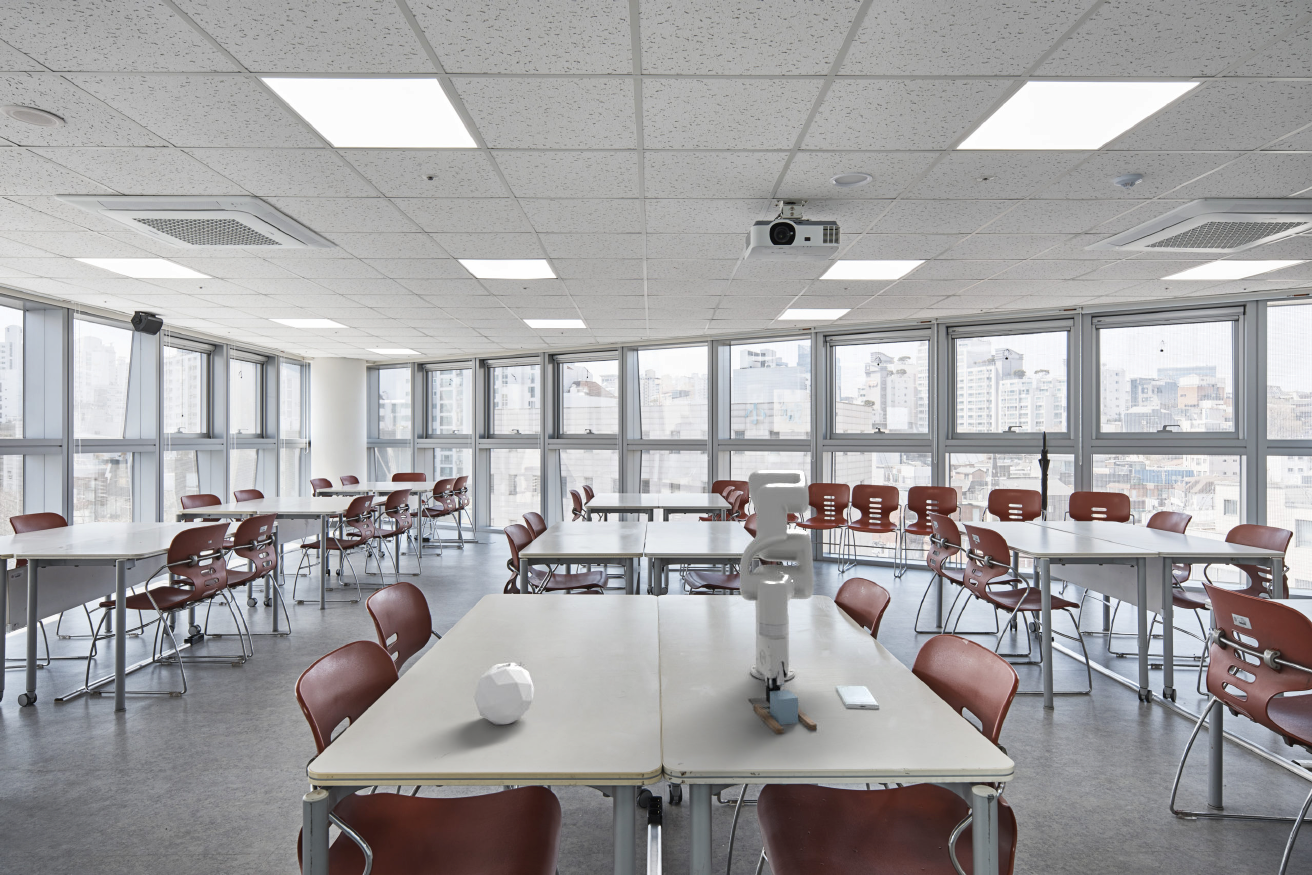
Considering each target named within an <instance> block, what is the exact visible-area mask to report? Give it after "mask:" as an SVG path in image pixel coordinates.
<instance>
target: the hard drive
mask: <svg viewBox="0 0 1312 875" xmlns="http://www.w3.org/2000/svg"><path fill="white" fill-rule="evenodd" d="M835 690H836V692H837V694H838V696H839V698H840V699H841V701H842V702H843V704H844V706H845V708H846V709H865V710H866V709H869V710H870V709H871V710H874V709H875V710H879V709H880V705H879V703H878V701H876V699H875V698H874V696H873V695H872V693H871V691H870V690H869V688H868V687H867V686H864V685H836V686H835Z"/></svg>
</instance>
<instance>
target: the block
mask: <svg viewBox="0 0 1312 875" xmlns="http://www.w3.org/2000/svg"><path fill="white" fill-rule="evenodd" d="M798 708H799V697H798V696H797V695H795V693H793V692H792V691H791V690H789V689H783V690H781V689H780V691H771V692H770V708H769V715H770V716H771V717H772V718H773V719H774V720H775V721H776V722H777V723H778V724H779V725H780V726H782V725H788V724H789V725H790V724H797V723H799V719H798Z"/></svg>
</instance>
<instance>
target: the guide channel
mask: <svg viewBox="0 0 1312 875" xmlns="http://www.w3.org/2000/svg"><path fill="white" fill-rule="evenodd" d="M747 701H748V702H750V703H751V704H752V705H753V710H754V712H756V714H757V715H758V716H759V717H760V718H761V719H762V720H763V721H764V722H765V723H766V724H767V725H768V726H769V727H770V728H771V729H772V730H773V732H774V733H776V735H782V734H784V728H783V726H782V725H779V724H778V723H777V722H776V721H775V720H774V719H773V718H772V717H771V716H770V713H769V712H767V710H766V709H770V704H769V703H768V702H767V701H766V696H761V697H751V698H748V700H747ZM799 720H800V722H802V724H804V726H805V727H807V728H808V729H809V730H810V731H816V730H817V729H818V728H817V726H818V725H817V723H816V722H815V721H814V720H813V719H811V718H810V717H809V716H808V715H807V714H806V713H805V712H804V711H802V710H801V709H800V708H799V707H798V721H799Z"/></svg>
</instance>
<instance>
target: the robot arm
mask: <svg viewBox="0 0 1312 875" xmlns="http://www.w3.org/2000/svg"><path fill="white" fill-rule="evenodd" d="M747 483H748V490H749V495H750V500H751V502H752V504H753V507H754V509H755V512H756V525H755V526H756V533H755V534H756V535H755V537H754V538H753V539H752V540H751V541H750V542H749V543H748V545H747V546H746V547H745V550H743V553H742V555H741V559H740V564H739V593H740V595H741V597H742V598H743V599H744V600H746V601H749V602H754V604H755V608H754V609H755V664H754V665H752V666H751V667H750V673H751V675H752V676H753V677H755V678H757V679H760V680H764V681H765V697H766V701H767V702H768V703H769V704H770V692H771V691H781V687H782V686H784V685H785V681H789V680H791V679H793V678H794V677H795V669H794V668H793V667H791V666H790V640H789V639H790V635H789V634H790V630H789V629H790V627H789V626H790V623H789V622H790V621H789V620H790V619H789V617H790V616H789V610H788V608H789V607H788V605H789V603H788V602H790V600H808V599H810V598H811V597H812V596H813V594H814V590H815V589H814V588H815V585H814V584H815V581H814V564H813V563H814V561H813V544H812V539H811V536H810V534H809V532H807V531H805V530H803V529H790V528H789V529H788V514H804V513H806V511H807V510H808V507H809V506H810V497H809V496H810V494H809V493H810V492H809V487H808V486H809V485H808V479H807V475H806V473H805V472H804V471H802V470H799V469H760V470H755V471H753V472H751V473H750V475H749V476H748V482H747ZM757 555H758V556H759V558H760V559H762V560H764V561H767V562H768V561H769V562H790V563H791V562H793V563H795V565H785V564H784V565H782V564H764V565H763V564H762V565H759V566H757V567H756V568H754V571H753V572H752V571H751V565H752V564H751V563H752V561H753V560H754V558H755V557H756V556H757Z"/></svg>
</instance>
